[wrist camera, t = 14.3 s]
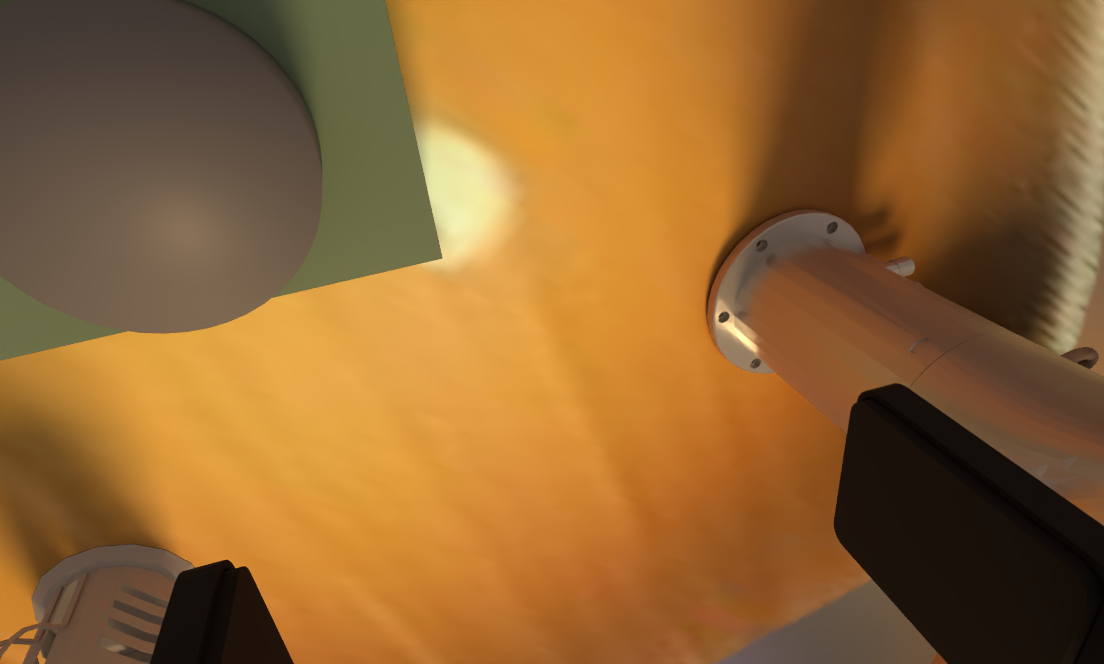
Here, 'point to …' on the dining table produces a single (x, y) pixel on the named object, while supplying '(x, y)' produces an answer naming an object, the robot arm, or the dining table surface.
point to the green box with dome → (196, 161)
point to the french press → (102, 606)
